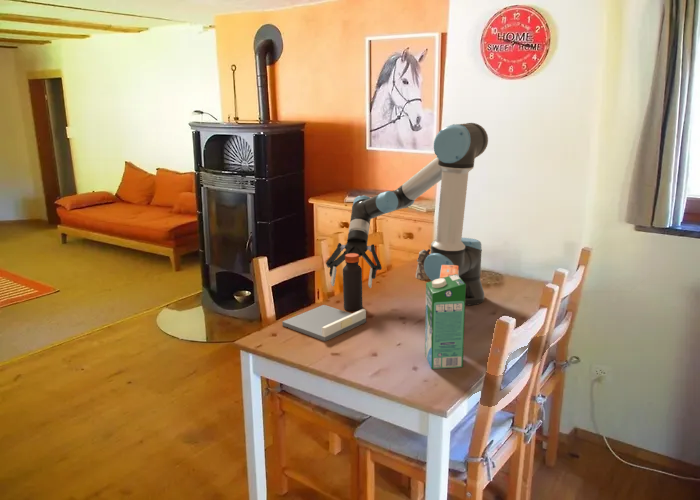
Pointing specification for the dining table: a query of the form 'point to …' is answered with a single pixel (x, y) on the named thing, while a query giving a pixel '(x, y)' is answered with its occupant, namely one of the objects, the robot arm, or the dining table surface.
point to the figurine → (422, 265)
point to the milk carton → (445, 322)
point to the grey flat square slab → (325, 322)
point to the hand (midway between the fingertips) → (350, 285)
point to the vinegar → (352, 283)
